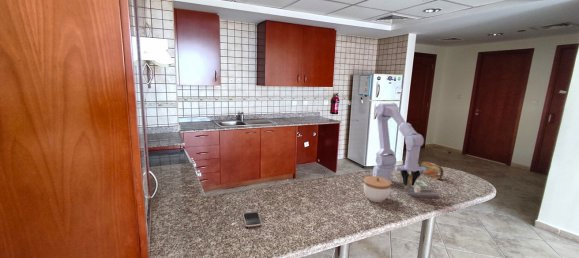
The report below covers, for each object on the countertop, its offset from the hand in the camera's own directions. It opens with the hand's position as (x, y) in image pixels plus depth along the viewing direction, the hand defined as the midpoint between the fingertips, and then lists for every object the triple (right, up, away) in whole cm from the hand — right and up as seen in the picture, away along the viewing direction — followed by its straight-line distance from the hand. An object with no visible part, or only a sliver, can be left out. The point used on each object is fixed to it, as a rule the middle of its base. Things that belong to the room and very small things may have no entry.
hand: (408, 184), depth 134 cm
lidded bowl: (-18, -6, -4) cm, 19 cm away
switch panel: (+8, -6, +2) cm, 10 cm away
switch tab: (+5, -4, +1) cm, 6 cm away
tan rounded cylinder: (0, -3, +1) cm, 3 cm away
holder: (+10, -4, +10) cm, 15 cm away
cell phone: (-74, -9, -27) cm, 80 cm away
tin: (+26, -1, +29) cm, 38 cm away
